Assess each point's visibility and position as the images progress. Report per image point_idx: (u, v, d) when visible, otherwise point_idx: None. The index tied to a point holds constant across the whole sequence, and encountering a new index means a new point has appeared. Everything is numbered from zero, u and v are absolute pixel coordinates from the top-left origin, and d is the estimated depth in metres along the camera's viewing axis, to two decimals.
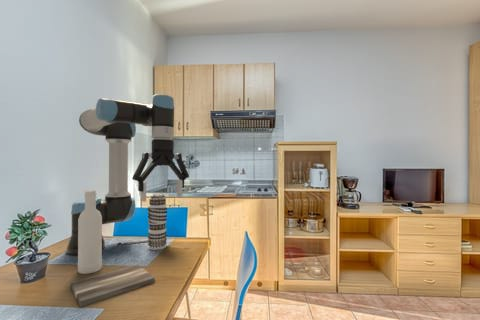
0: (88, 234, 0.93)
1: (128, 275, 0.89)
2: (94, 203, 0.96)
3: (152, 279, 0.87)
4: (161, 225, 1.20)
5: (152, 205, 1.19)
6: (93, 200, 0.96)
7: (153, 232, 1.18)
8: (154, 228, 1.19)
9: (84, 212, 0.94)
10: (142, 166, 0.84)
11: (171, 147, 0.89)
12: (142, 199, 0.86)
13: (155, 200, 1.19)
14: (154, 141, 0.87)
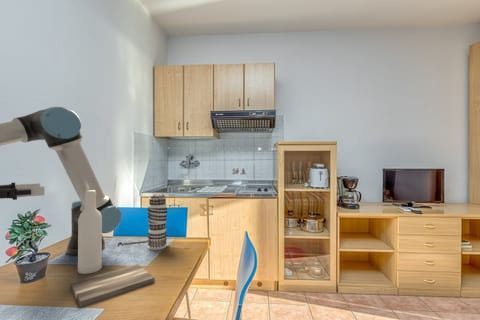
0: (88, 234, 0.93)
1: (128, 275, 0.89)
2: (94, 203, 0.96)
3: (152, 279, 0.87)
4: (161, 225, 1.20)
5: (152, 205, 1.19)
6: (93, 200, 0.96)
7: (153, 232, 1.18)
8: (154, 228, 1.19)
9: (84, 212, 0.94)
10: None
11: None
12: None
13: (155, 200, 1.19)
14: None
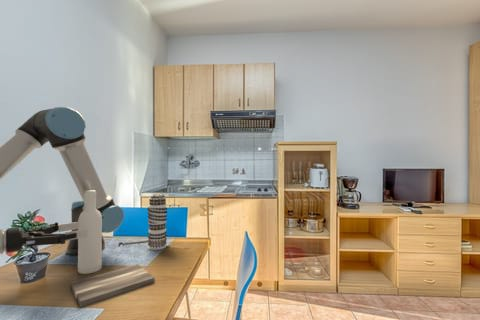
0: (88, 234, 0.93)
1: (128, 275, 0.89)
2: (94, 203, 0.96)
3: (152, 279, 0.87)
4: (161, 225, 1.20)
5: (152, 205, 1.19)
6: (93, 200, 0.96)
7: (153, 232, 1.18)
8: (154, 228, 1.19)
9: (84, 212, 0.94)
10: None
11: (17, 250, 0.81)
12: None
13: (155, 200, 1.19)
14: None
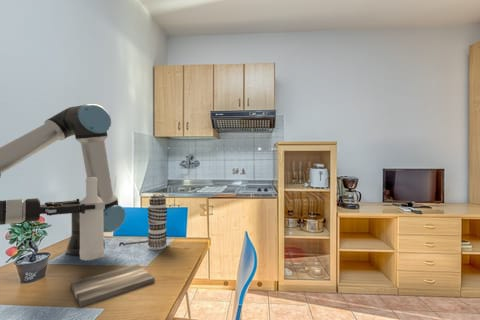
0: (89, 221, 0.93)
1: (128, 275, 0.89)
2: (95, 190, 0.96)
3: (152, 279, 0.87)
4: (161, 225, 1.20)
5: (152, 205, 1.19)
6: (94, 187, 0.95)
7: (153, 232, 1.18)
8: (154, 228, 1.19)
9: (85, 198, 0.94)
10: None
11: (35, 220, 0.84)
12: None
13: (155, 200, 1.19)
14: None
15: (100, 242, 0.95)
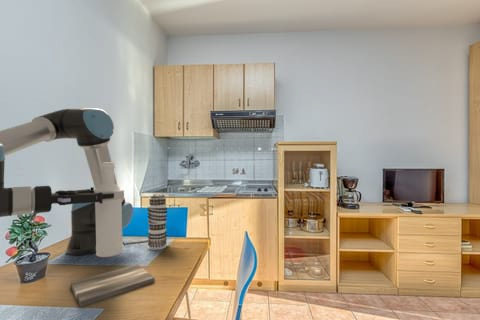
0: (107, 212, 0.81)
1: (128, 275, 0.89)
2: (112, 177, 0.84)
3: (152, 279, 0.87)
4: (161, 225, 1.20)
5: (152, 205, 1.19)
6: (111, 173, 0.83)
7: (153, 232, 1.18)
8: (154, 228, 1.19)
9: (102, 186, 0.82)
10: None
11: (46, 211, 0.72)
12: None
13: (155, 200, 1.19)
14: None
15: (119, 236, 0.84)
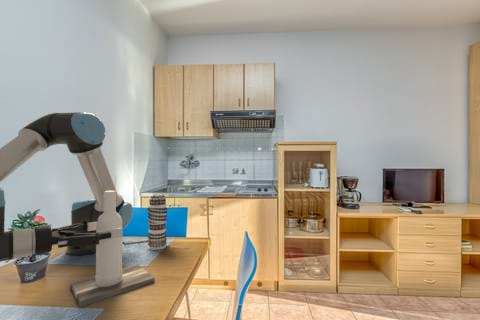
0: (108, 242, 0.81)
1: (128, 275, 0.89)
2: (114, 205, 0.84)
3: (152, 279, 0.87)
4: (161, 225, 1.20)
5: (152, 205, 1.19)
6: (113, 202, 0.84)
7: (153, 232, 1.18)
8: (154, 228, 1.19)
9: (103, 216, 0.82)
10: None
11: (47, 252, 0.72)
12: None
13: (155, 200, 1.19)
14: None
15: (119, 265, 0.84)
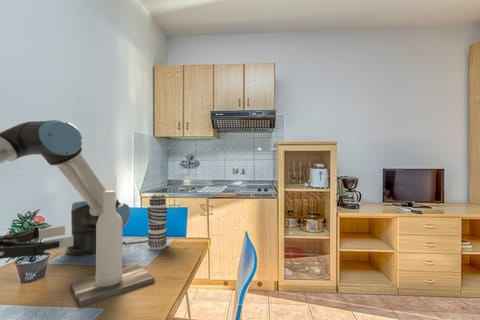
0: (108, 242, 0.81)
1: (128, 275, 0.89)
2: (114, 205, 0.84)
3: (152, 279, 0.87)
4: (161, 225, 1.20)
5: (152, 205, 1.19)
6: (113, 202, 0.83)
7: (153, 232, 1.18)
8: (154, 228, 1.19)
9: (103, 216, 0.82)
10: None
11: None
12: None
13: (155, 200, 1.19)
14: None
15: (119, 265, 0.84)
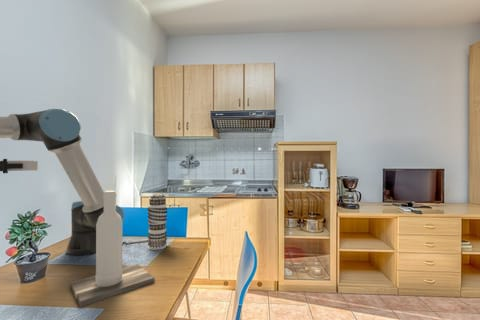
0: (108, 242, 0.81)
1: (128, 275, 0.89)
2: (114, 205, 0.84)
3: (152, 279, 0.87)
4: (161, 225, 1.20)
5: (152, 205, 1.19)
6: (113, 202, 0.84)
7: (153, 232, 1.18)
8: (154, 228, 1.19)
9: (103, 216, 0.82)
10: None
11: None
12: None
13: (155, 200, 1.19)
14: None
15: (119, 265, 0.84)
